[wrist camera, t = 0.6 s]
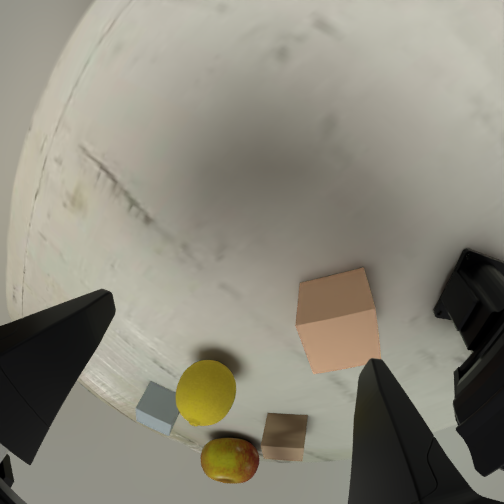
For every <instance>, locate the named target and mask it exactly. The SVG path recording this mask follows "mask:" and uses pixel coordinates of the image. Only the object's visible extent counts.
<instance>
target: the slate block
mask: <svg viewBox="0 0 504 504" xmlns="http://www.w3.org/2000/svg"><path fill="white" fill-rule="evenodd" d="M178 415H179V410H178V408H177V405H176V392H173V391H171V390H169V389H167V388H165V387H162V386H160V385H158V384H156V383H154V382H152V381H151V382H150V383H149V385H148V387H147V389H146V390H145V392H144V394H143V396H142V398H141V399H140V401H139V403H138V405H137V406H136V419H137V421H138V422H140V423H142V424H144V425H146V426H148V427H150V428H152V429H154V430H156V431H159V432H161V433H163V434H165V435H168V436H169V435H170V432H171V430H172V428H173V426H174V423H175V421H176V419H177V417H178Z"/></svg>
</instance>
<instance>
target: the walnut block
mask: <svg viewBox="0 0 504 504" xmlns="http://www.w3.org/2000/svg"><path fill="white" fill-rule="evenodd" d="M307 416H308V415H294V414H277V413H268V414H267V419H266V424H265V428H264V433H263V437H262V442H261V449H262V453H263V457H264V459H275V460H288V461H302V459H303V452H304V444H305V435H306V426H307Z"/></svg>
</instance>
